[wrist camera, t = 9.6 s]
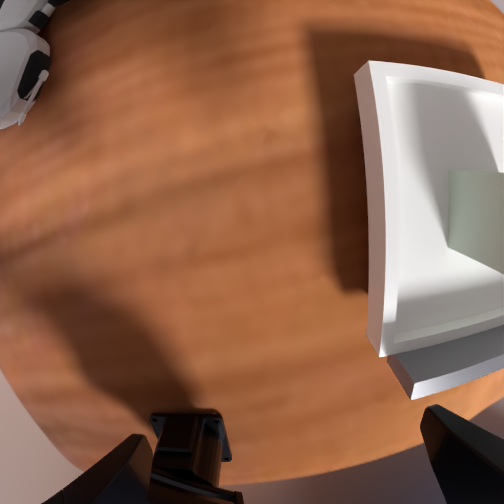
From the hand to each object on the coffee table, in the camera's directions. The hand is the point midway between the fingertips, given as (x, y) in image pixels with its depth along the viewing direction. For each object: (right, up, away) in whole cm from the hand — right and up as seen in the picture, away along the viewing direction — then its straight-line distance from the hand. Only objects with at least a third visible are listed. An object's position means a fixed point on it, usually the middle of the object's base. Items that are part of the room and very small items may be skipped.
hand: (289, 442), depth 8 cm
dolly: (+12, +9, +11) cm, 19 cm away
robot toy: (-20, +23, +8) cm, 31 cm away
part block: (+12, +8, +7) cm, 16 cm away
